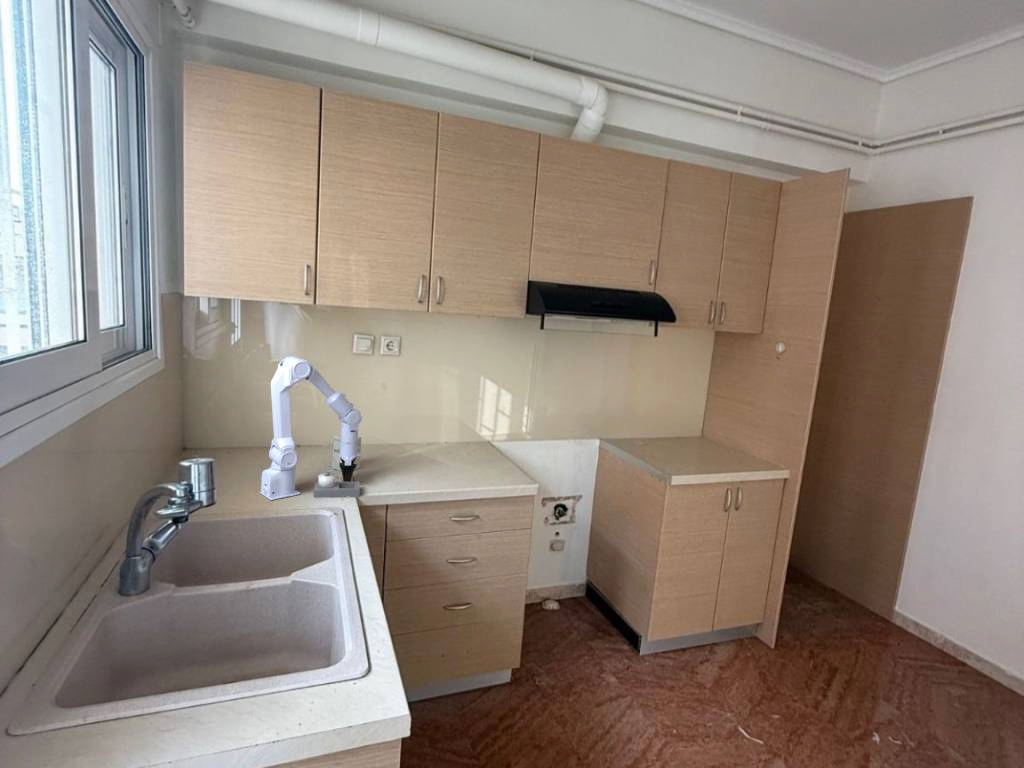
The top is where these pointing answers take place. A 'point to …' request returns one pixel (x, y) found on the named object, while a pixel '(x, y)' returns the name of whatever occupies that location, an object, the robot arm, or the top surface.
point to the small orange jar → (351, 479)
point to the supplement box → (337, 451)
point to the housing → (335, 487)
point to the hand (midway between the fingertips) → (347, 479)
